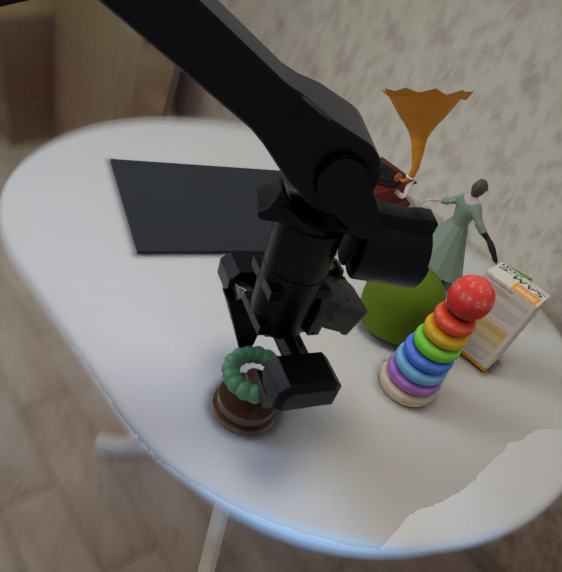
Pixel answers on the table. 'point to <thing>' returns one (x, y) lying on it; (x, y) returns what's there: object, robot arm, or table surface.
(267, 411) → the stand
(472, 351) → the supplement box
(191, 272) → the table surface
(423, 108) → the gramophone
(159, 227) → the mat
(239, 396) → the ring
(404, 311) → the apple
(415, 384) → the stacking toy
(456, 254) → the character figurine
